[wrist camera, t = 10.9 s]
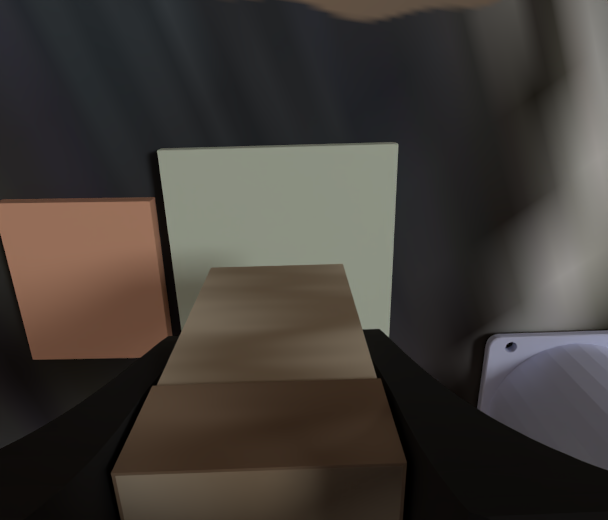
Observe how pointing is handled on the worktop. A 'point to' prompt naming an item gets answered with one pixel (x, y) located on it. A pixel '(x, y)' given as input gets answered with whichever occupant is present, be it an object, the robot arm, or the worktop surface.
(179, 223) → the mat
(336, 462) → the brown wooden box
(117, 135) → the worktop surface
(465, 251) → the worktop surface
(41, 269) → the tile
